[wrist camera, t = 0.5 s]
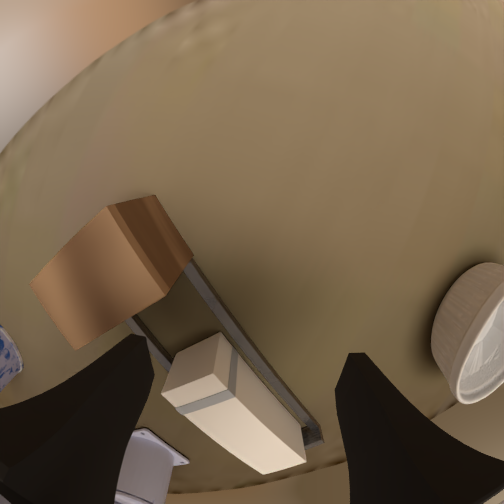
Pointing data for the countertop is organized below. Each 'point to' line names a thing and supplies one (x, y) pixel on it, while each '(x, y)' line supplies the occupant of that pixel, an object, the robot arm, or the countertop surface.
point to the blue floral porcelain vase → (8, 359)
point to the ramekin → (472, 333)
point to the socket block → (112, 269)
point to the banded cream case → (233, 406)
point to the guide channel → (313, 430)
